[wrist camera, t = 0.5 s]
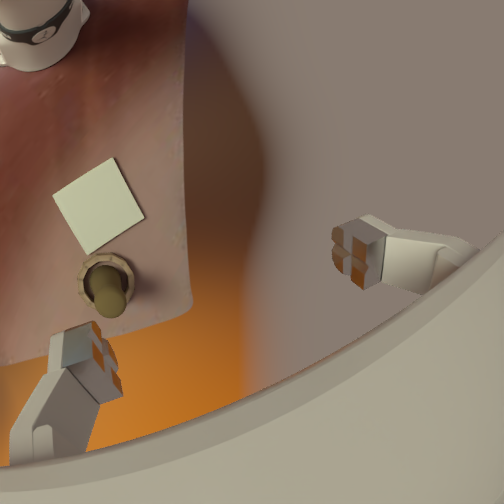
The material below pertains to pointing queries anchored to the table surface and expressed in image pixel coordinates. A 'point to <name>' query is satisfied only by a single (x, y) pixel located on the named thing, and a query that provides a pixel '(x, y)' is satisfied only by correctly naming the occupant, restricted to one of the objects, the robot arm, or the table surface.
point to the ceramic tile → (98, 206)
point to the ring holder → (104, 257)
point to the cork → (108, 291)
